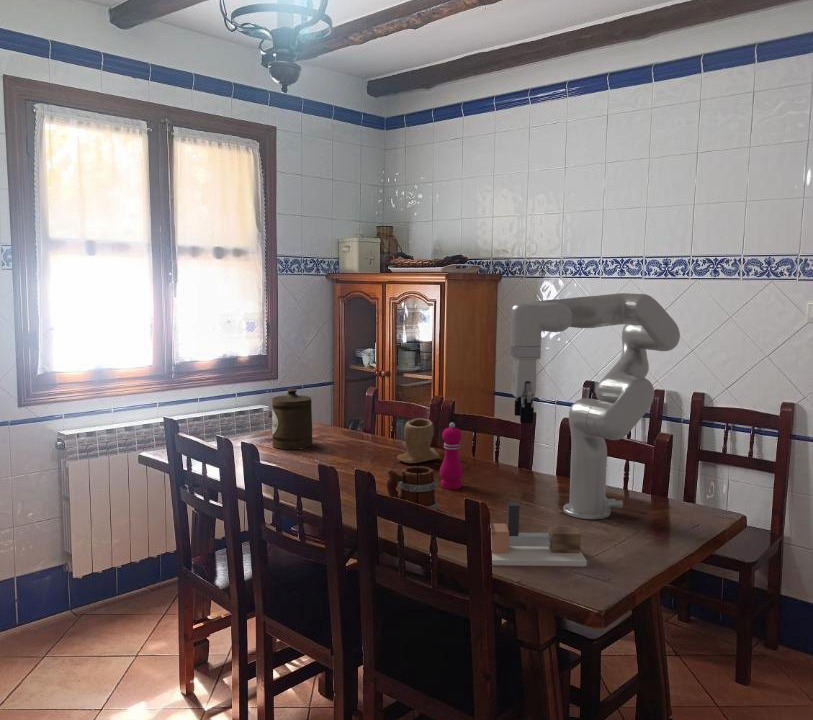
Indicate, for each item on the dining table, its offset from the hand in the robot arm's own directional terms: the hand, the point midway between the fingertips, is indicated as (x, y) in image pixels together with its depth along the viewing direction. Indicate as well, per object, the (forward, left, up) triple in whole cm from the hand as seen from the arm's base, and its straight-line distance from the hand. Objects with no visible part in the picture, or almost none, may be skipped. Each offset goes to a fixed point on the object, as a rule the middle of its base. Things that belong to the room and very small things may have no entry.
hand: (523, 419), depth 189 cm
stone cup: (+25, -66, -29) cm, 76 cm away
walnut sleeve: (-7, +19, -27) cm, 34 cm away
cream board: (0, +19, -28) cm, 34 cm away
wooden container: (+73, -88, -29) cm, 118 cm away
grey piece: (+1, +19, -26) cm, 32 cm away
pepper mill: (+16, -36, -28) cm, 49 cm away
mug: (+28, -10, -29) cm, 41 cm away
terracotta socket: (+8, +19, -27) cm, 34 cm away
